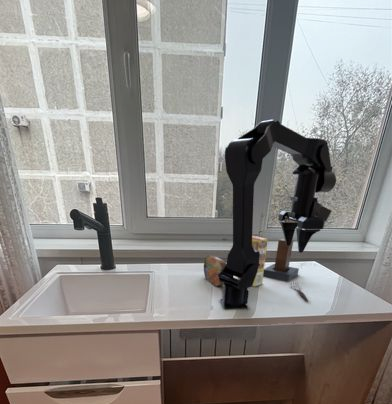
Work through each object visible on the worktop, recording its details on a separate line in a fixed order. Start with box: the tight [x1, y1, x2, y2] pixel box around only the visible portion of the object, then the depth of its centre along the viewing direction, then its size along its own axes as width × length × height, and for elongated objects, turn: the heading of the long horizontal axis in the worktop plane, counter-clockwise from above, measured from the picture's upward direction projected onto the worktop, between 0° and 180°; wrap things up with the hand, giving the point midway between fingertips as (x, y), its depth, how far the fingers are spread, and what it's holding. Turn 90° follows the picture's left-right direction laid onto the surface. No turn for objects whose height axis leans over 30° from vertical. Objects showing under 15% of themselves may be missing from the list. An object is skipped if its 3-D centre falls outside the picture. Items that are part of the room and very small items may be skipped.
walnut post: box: [274, 237, 294, 272], centre depth 104 cm, size 4×4×13 cm
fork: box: [290, 280, 309, 302], centre depth 91 cm, size 3×16×2 cm, turn 179°
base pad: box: [263, 263, 300, 282], centre depth 107 cm, size 10×10×2 cm
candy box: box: [236, 234, 268, 287], centre depth 96 cm, size 9×4×15 cm, turn 33°
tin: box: [203, 255, 227, 287], centre depth 97 cm, size 15×3×8 cm, turn 21°
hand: (294, 248), depth 89 cm, fingers open, 9 cm apart
